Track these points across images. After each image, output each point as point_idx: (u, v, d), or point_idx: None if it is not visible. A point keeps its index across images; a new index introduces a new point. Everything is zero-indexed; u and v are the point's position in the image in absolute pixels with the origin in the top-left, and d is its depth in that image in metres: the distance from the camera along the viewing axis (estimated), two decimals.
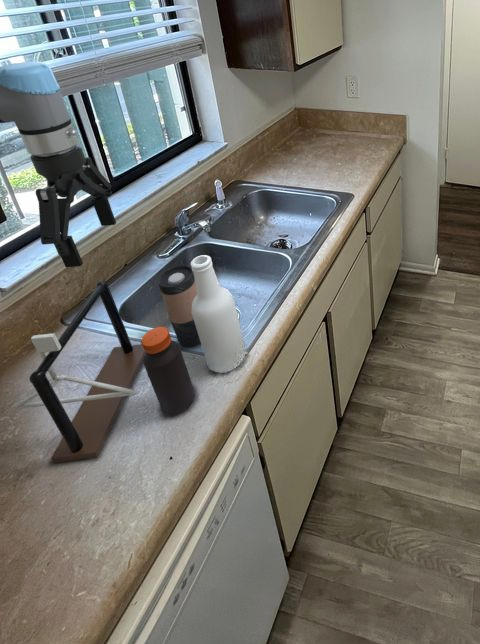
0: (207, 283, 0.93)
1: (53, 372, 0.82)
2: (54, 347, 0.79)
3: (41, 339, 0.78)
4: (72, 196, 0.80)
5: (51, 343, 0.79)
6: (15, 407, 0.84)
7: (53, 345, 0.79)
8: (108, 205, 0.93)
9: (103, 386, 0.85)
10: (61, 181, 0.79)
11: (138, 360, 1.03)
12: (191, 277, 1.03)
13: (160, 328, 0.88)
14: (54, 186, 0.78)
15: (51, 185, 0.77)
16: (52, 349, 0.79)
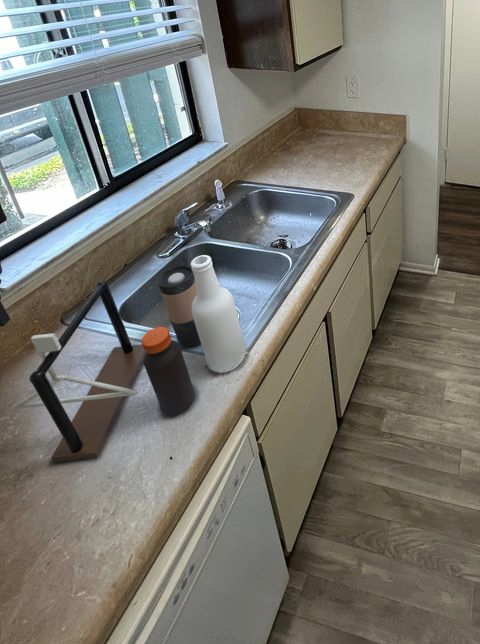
0: (207, 283, 0.93)
1: (53, 372, 0.82)
2: (54, 347, 0.79)
3: (41, 339, 0.78)
4: None
5: (51, 343, 0.79)
6: (15, 407, 0.84)
7: (53, 345, 0.79)
8: None
9: (103, 386, 0.85)
10: None
11: (138, 360, 1.03)
12: (191, 277, 1.03)
13: (160, 328, 0.88)
14: None
15: None
16: (52, 349, 0.79)
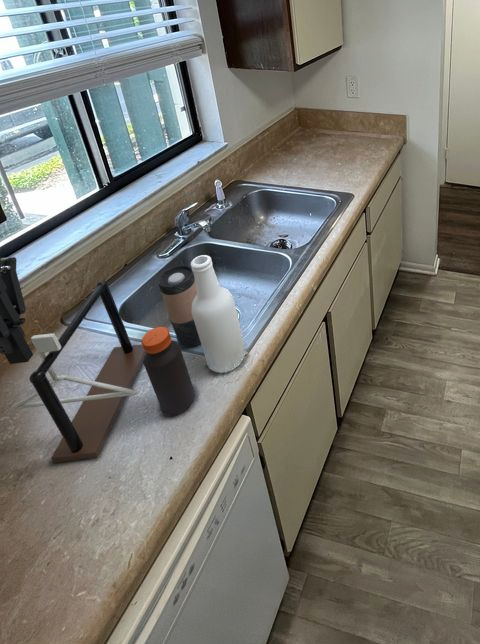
0: (207, 283, 0.93)
1: (53, 372, 0.82)
2: (54, 347, 0.79)
3: (41, 339, 0.78)
4: None
5: (51, 343, 0.79)
6: (15, 407, 0.84)
7: (53, 345, 0.79)
8: (20, 336, 0.71)
9: (103, 386, 0.85)
10: None
11: (138, 360, 1.03)
12: (191, 277, 1.03)
13: (160, 328, 0.88)
14: None
15: None
16: (52, 349, 0.79)
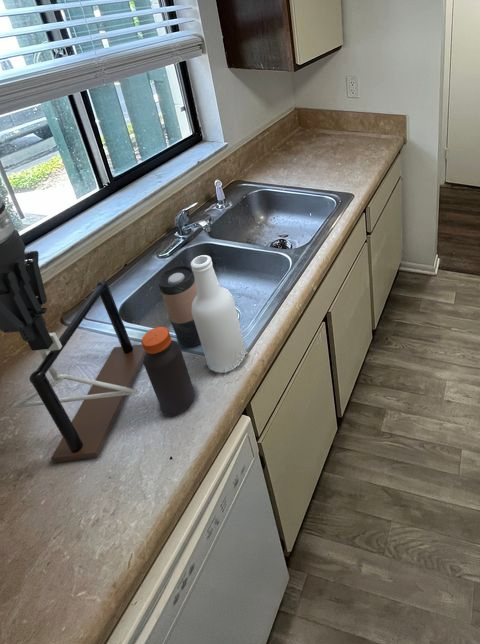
0: (207, 283, 0.93)
1: (54, 371, 0.82)
2: (55, 346, 0.79)
3: None
4: (16, 288, 0.71)
5: None
6: (16, 406, 0.85)
7: (54, 344, 0.79)
8: (41, 325, 0.77)
9: (104, 385, 0.85)
10: None
11: (138, 360, 1.03)
12: (191, 277, 1.03)
13: (160, 328, 0.88)
14: None
15: None
16: (52, 348, 0.80)
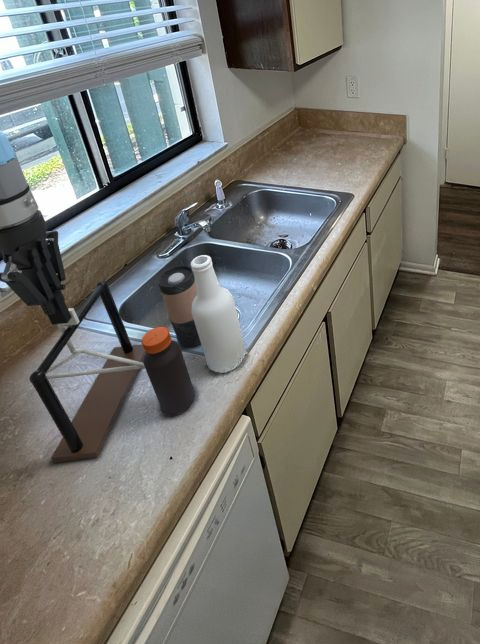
0: (207, 283, 0.93)
1: (71, 345, 0.88)
2: (73, 321, 0.85)
3: None
4: (39, 264, 0.76)
5: None
6: None
7: (72, 319, 0.85)
8: (61, 300, 0.82)
9: (118, 359, 0.91)
10: (18, 253, 0.73)
11: (138, 360, 1.03)
12: (191, 277, 1.03)
13: (160, 328, 0.88)
14: (13, 264, 0.72)
15: (9, 264, 0.72)
16: (71, 323, 0.85)
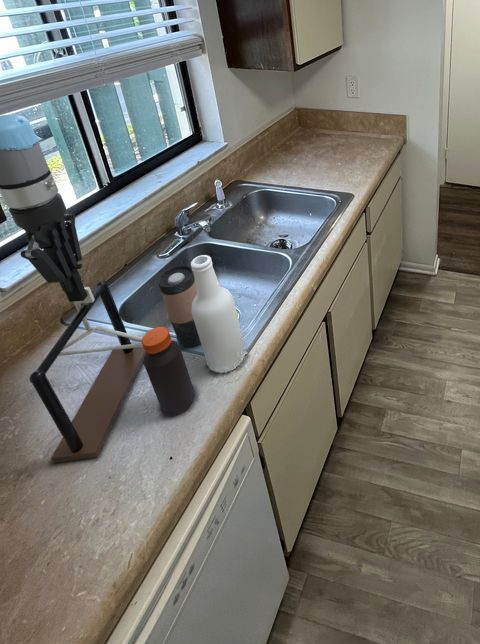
0: (207, 283, 0.93)
1: (87, 322, 0.93)
2: (88, 299, 0.90)
3: None
4: (58, 243, 0.82)
5: None
6: None
7: (88, 297, 0.90)
8: (78, 278, 0.87)
9: (130, 336, 0.96)
10: (40, 232, 0.78)
11: (138, 360, 1.03)
12: (191, 277, 1.03)
13: (160, 328, 0.88)
14: (35, 242, 0.78)
15: (32, 242, 0.77)
16: (86, 301, 0.90)
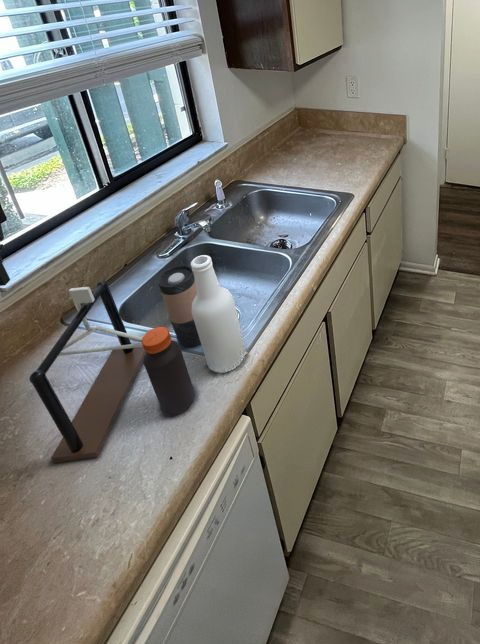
0: (207, 283, 0.93)
1: (87, 322, 0.93)
2: (88, 299, 0.90)
3: (77, 291, 0.89)
4: None
5: (86, 295, 0.90)
6: None
7: (88, 297, 0.90)
8: None
9: (130, 336, 0.96)
10: None
11: (138, 360, 1.03)
12: (191, 277, 1.03)
13: (160, 328, 0.88)
14: None
15: None
16: (86, 301, 0.90)
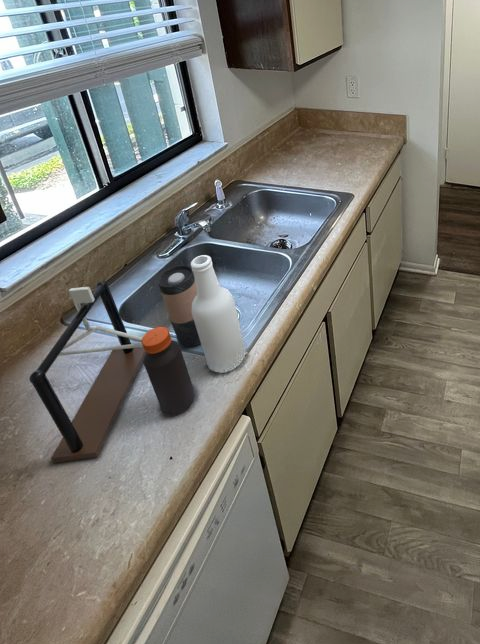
0: (207, 283, 0.93)
1: (87, 322, 0.93)
2: (88, 299, 0.90)
3: (77, 291, 0.89)
4: None
5: (86, 295, 0.90)
6: None
7: (88, 297, 0.90)
8: None
9: (130, 336, 0.96)
10: None
11: (138, 360, 1.03)
12: (191, 277, 1.03)
13: (160, 328, 0.88)
14: None
15: None
16: (86, 301, 0.90)
